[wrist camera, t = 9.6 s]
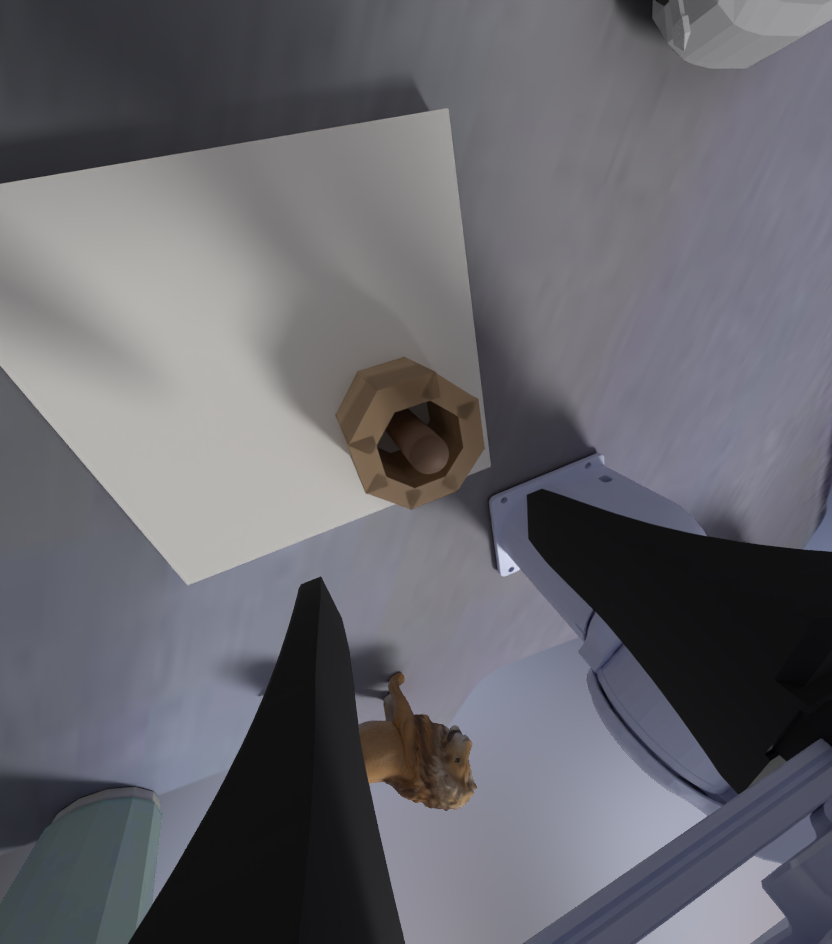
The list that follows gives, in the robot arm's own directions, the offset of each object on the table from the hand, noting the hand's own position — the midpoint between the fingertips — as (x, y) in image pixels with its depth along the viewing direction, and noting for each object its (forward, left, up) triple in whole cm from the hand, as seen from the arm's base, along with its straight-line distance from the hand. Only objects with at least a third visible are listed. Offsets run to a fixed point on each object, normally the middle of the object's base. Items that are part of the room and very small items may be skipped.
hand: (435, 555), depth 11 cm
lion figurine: (+7, +20, -10) cm, 23 cm away
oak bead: (-1, -2, -8) cm, 9 cm away
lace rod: (-1, -2, -8) cm, 9 cm away
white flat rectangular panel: (+3, -5, -9) cm, 11 cm away
